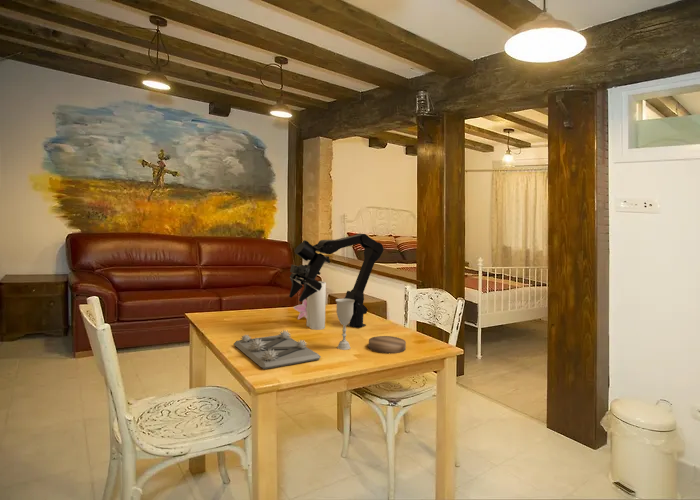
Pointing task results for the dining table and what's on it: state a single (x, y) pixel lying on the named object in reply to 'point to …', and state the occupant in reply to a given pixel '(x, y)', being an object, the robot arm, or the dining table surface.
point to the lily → (302, 309)
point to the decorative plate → (276, 350)
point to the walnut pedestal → (387, 344)
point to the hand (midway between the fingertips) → (294, 299)
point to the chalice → (344, 319)
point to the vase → (316, 308)
